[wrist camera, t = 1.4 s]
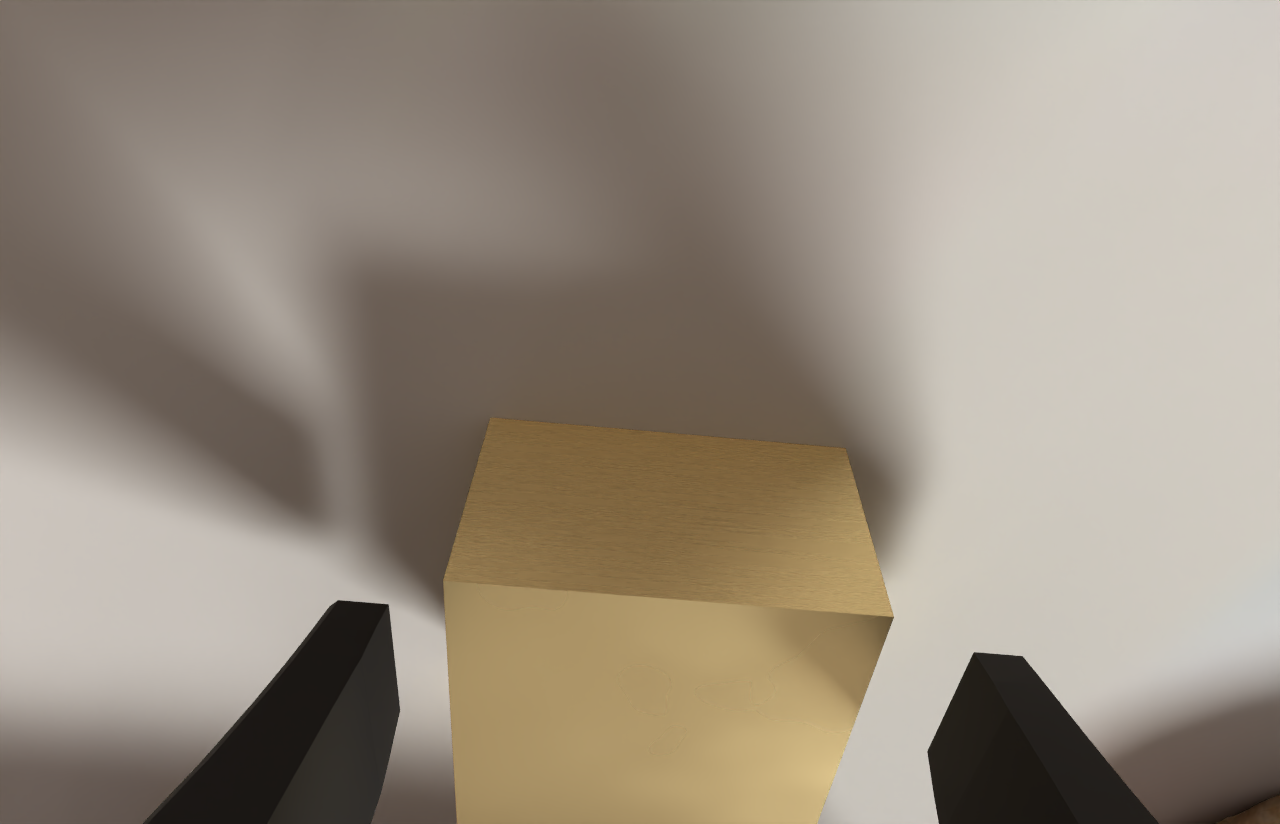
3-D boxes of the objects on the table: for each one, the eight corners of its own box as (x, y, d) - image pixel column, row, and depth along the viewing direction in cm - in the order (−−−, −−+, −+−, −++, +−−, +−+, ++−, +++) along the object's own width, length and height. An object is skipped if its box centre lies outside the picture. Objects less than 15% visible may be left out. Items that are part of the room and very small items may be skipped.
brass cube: (494, 645, 14) (457, 830, 11) (492, 409, 11) (442, 580, 9) (779, 667, 14) (805, 854, 11) (842, 439, 11) (893, 616, 9)
